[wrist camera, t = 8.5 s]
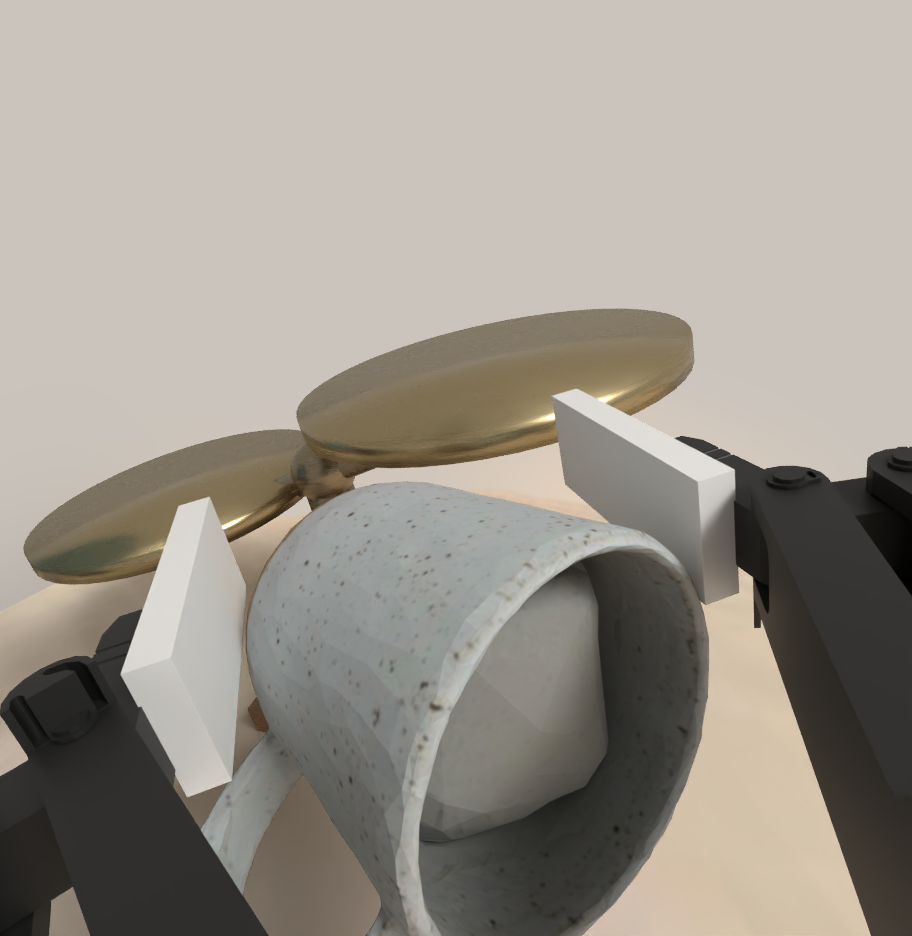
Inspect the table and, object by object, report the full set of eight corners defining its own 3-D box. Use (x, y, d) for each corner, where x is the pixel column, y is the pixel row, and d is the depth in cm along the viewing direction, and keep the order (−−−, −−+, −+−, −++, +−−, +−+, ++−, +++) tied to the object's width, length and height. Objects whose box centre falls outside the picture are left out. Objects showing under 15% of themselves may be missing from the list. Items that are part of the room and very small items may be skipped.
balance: (68, 750, 37) (-100, 480, 30) (237, 586, 50) (148, 375, 43) (724, 863, 23) (688, 414, 16) (716, 596, 36) (694, 290, 30)
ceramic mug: (484, 630, 20) (426, 409, 17) (727, 769, 14) (706, 463, 11) (159, 882, 15) (-12, 624, 12) (323, 1292, 9) (51, 973, 5)
